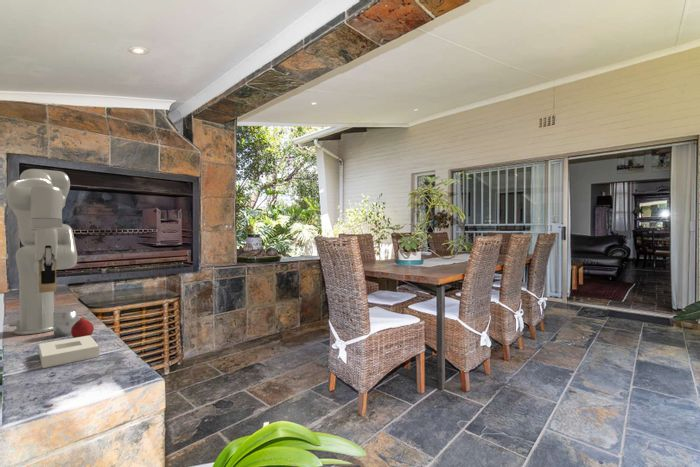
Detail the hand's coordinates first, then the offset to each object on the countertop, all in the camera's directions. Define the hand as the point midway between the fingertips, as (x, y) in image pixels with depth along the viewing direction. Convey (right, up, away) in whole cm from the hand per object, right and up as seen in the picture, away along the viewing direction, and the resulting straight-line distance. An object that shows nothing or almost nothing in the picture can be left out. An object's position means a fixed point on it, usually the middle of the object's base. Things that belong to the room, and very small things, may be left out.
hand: (47, 282), depth 110 cm
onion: (+8, -20, +4) cm, 22 cm away
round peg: (-5, -20, +13) cm, 25 cm away
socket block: (+14, -20, -10) cm, 26 cm away
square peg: (0, -3, 0) cm, 3 cm away
